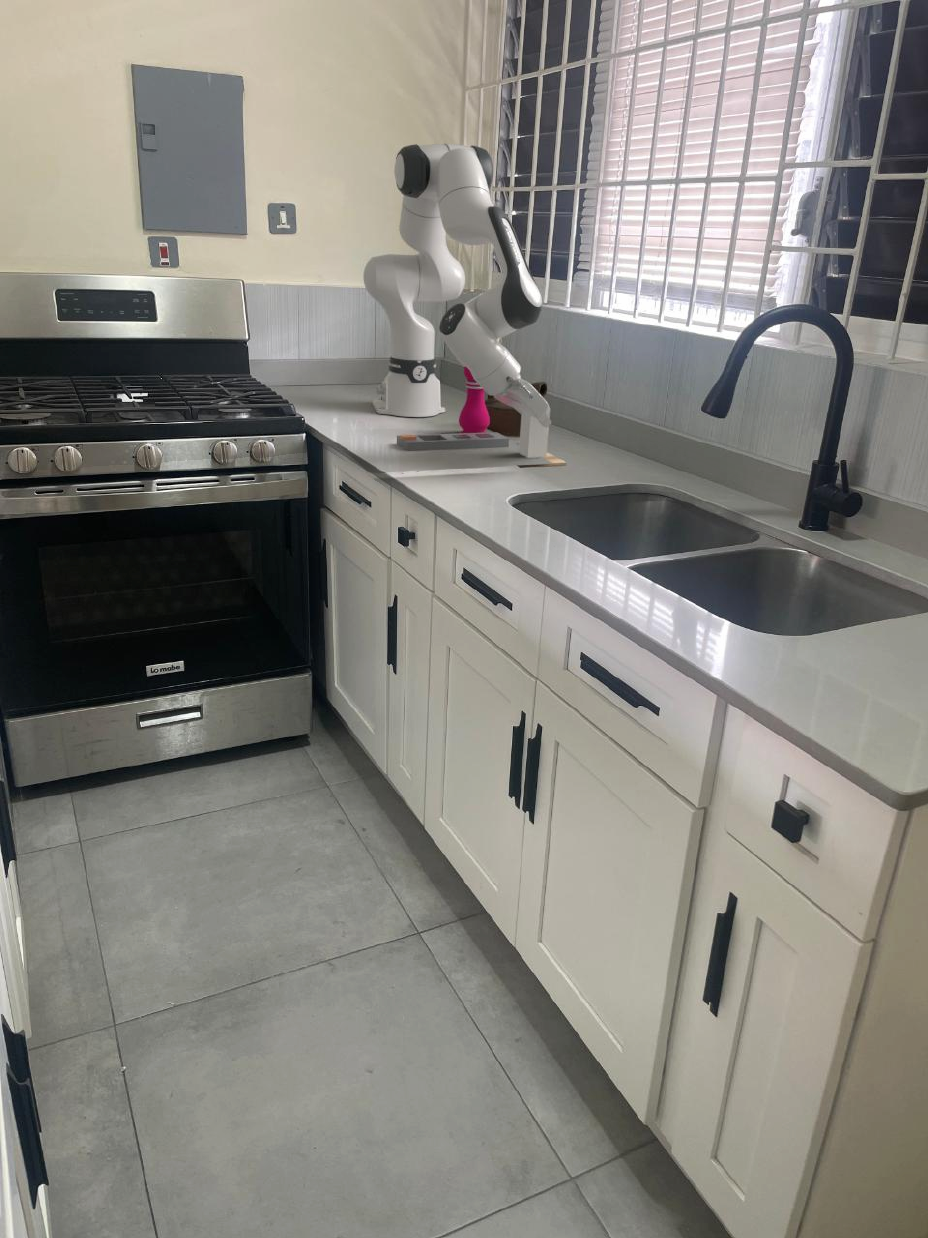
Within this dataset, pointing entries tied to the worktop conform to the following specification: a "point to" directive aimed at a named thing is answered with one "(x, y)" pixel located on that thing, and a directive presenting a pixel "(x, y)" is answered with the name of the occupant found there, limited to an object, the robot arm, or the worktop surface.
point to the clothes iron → (507, 414)
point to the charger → (533, 437)
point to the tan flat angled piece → (551, 459)
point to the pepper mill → (474, 407)
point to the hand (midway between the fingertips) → (538, 420)
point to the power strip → (452, 441)
